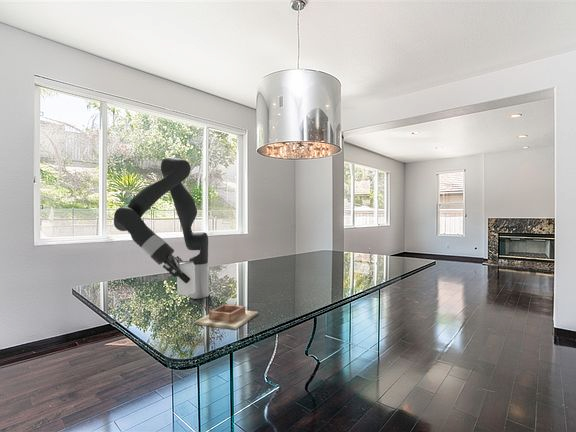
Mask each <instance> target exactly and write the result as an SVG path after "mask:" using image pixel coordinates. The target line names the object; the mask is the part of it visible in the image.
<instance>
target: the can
mask: <svg viewBox="0 0 576 432" xmlns="http://www.w3.org/2000/svg"><path fill="white" fill-rule="evenodd" d="M178 264H179V266H180V269H181V270H182V271H183V273H185V274H186V275H187V276H188V277H189V278H190V281H189V282H188V283H185V282H184V281H182V280H181V279H180V278H179V277H177V276H176V282H177V283H176V284H177V285H176V286H177V295H178V296H180V297H185V296H186V297H189V295H192V294H194V293H195V265H194V263H193V261H189V260H182V262H178Z"/></svg>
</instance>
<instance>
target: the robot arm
mask: <svg viewBox="0 0 576 432" xmlns="http://www.w3.org/2000/svg"><path fill="white" fill-rule="evenodd" d="M191 171H192V170H191V165H190V163H189V162H188V161H187V160H186V159H182V158H178V157H172V156H166V157H164V158H163V159H162V160H161V163H160V172H161V174H162V178H161V179H159V180H157V181H155V182H153V183H151V184H148V185H146V186H144V187H143V188H141V190H140V191H139V192H137V194H135V195H134V196H133V197H132V198H131V199H130V202H129V204H128V205H127V206H120V207H118V208H117V209H116V210H115V211H114V216H113V226H114V227H115V228H116V229H117V230H118V231H120V232H128V233H129V235H130V237H131V239H132V241H133V242H134V243H135V244H137V246H139V247H140V248H141V249H142V250H143V251H144V252H145V254H147V256H149V257H150V258H151V259H152V260H153V261H154V262H155V263H156V264H158V265H162V264H163V266H162V268H163V269H165V270H166V271H167V272H168V273H169V274H170V275H172V276H173V277H175V278H177V277H179V278H180V279H181V280H182V281H184V282H185V283H188V282H189V281H190V278H189V277H188V276H187V275H186V274H185V273H183V271H182V270H181V269H180V266H179V264H178V262H182V261H183V260H182V258H181V257H180V256H179V255H178V256H175V255H173V254H174V253H175V249H174V248H173V247H172V246H170V245H169V244H168V243H167V242H166V241H165V239H163V238H162V237H160V236H159V235H157V234H156V233H155V232H154V231H153V230H152V229H151V228H149V226H148V225H147V224H146V222H145V221H144V220H143V219H142V217H143V215H144V214H145V213H146V212H147V211H148V210H149V209H150V208H151V207H153V205H155V203H156V202H158V201H159V199H161V198H162V197H163V196H164V195H165V194H166V193H170V195H171V199H172V202H173V205H174V207H175V208H174V209H175V211H176V214H177V216H178V220H179V223H180V226H181V229H182V230H181V231H182V234H183V240H184V244H185V247H186V249H187V250H188V251H199V253H198V254H197V255H195V256H192V257H190V258H189V260H188V261H193V263H194V265H195V293H194V294H192V295H188V298H190V299H194V300H195V299H197V300H198V299H204V298H208V297H209V294H210V293H209V292H210V291H209V263H208V261H209V260H208V259H209V236H208V233H207V232H201V231H200V232H199V231H198V232H194V231H192V225H193V223H194V222H195V220H196V217H197V215H198V210H197V206H196V202H195V199H194V198H193V196H192V194H191V193H190V192H189V191H188V190H187V189H186V187H185V186H184V184H183V182H184V181H185V180H186V179H187V178H188V177H189V175H190V173H191Z"/></svg>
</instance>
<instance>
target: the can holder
mask: <svg viewBox="0 0 576 432" xmlns="http://www.w3.org/2000/svg"><path fill="white" fill-rule="evenodd" d="M258 314H259V311H255V310H254V311H253V310H246V306H244V305H234V304H225V303H223V304H221V305H220V306H217V307H215V308H213V309H211V310H209V311H208V314H207V315H205V316H202V317H201V318H199V319H197V320H195V321H194V325H199V326H204V327H205V326H206V327H212V328H213V327H214V328H221V329H228V330H229V329H230V330H237V329H238V328H240V327H241V326H242V325H244V324H245V323H247V322H249V321H250V320H251V319H253V318H255V317H256V316H257V315H258Z"/></svg>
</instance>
